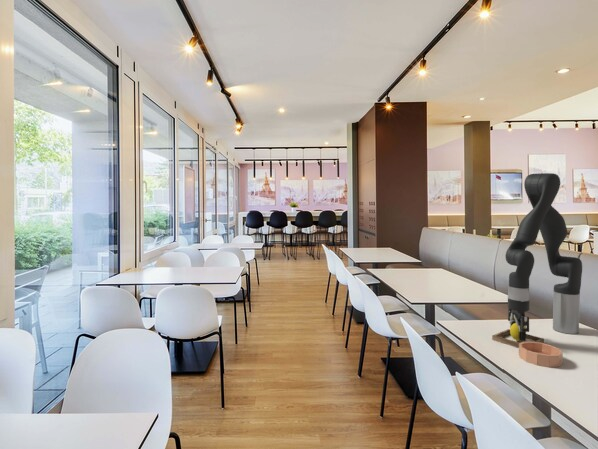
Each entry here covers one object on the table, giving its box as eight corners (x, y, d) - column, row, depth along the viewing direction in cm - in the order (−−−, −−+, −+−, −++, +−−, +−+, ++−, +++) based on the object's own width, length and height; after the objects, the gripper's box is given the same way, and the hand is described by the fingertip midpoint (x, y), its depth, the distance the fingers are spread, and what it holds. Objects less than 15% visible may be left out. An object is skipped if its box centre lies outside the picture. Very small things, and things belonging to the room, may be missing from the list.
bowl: (528, 349, 133) (528, 339, 133) (567, 361, 122) (567, 350, 122) (512, 357, 126) (512, 346, 126) (552, 370, 115) (552, 358, 115)
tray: (508, 333, 150) (508, 329, 150) (543, 343, 139) (543, 338, 139) (492, 339, 143) (492, 335, 143) (528, 350, 131) (528, 346, 131)
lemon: (528, 344, 138) (528, 324, 137) (513, 343, 139) (513, 324, 138) (522, 339, 143) (522, 320, 143) (507, 338, 144) (507, 319, 144)
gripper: (501, 293, 148) (501, 330, 148) (515, 301, 134) (514, 342, 134) (521, 294, 146) (520, 331, 147) (537, 302, 132) (536, 344, 133)
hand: (517, 336), depth 141 cm, fingers open, 8 cm apart
